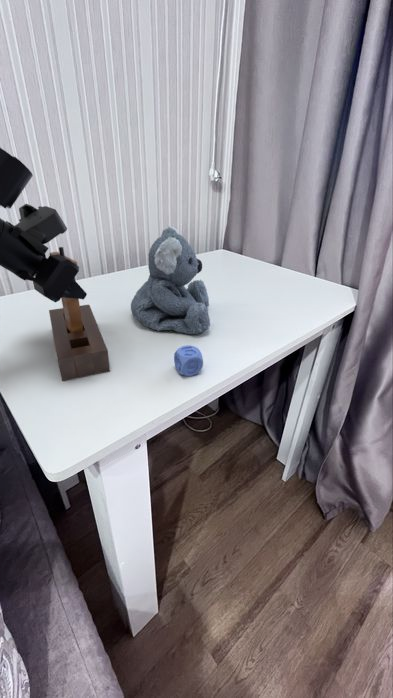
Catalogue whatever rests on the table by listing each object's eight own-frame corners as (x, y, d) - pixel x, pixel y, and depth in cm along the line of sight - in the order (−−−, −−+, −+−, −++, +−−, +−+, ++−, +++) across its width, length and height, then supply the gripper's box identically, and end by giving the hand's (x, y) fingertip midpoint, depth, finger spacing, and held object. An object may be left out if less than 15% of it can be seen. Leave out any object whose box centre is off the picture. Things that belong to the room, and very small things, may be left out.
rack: (62, 381, 55) (56, 359, 53) (53, 329, 70) (48, 309, 67) (110, 371, 58) (107, 349, 56) (92, 323, 73) (89, 304, 70)
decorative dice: (193, 361, 62) (194, 343, 60) (202, 373, 59) (204, 354, 57) (173, 365, 60) (173, 347, 58) (181, 378, 57) (182, 359, 55)
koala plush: (210, 338, 69) (217, 243, 59) (124, 335, 69) (115, 239, 58) (208, 303, 84) (213, 222, 73) (137, 300, 83) (131, 219, 73)
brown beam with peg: (79, 340, 59) (64, 253, 51) (61, 325, 63) (44, 243, 55) (90, 336, 60) (77, 251, 52) (72, 322, 65) (57, 241, 56)
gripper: (52, 197, 41) (132, 267, 54) (-1, 181, 52) (75, 241, 64) (2, 272, 40) (94, 324, 53) (-42, 240, 51) (43, 289, 64)
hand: (76, 291), depth 59 cm, fingers closed on brown beam with peg, 6 cm apart
